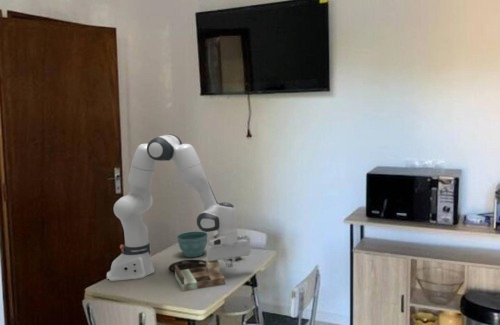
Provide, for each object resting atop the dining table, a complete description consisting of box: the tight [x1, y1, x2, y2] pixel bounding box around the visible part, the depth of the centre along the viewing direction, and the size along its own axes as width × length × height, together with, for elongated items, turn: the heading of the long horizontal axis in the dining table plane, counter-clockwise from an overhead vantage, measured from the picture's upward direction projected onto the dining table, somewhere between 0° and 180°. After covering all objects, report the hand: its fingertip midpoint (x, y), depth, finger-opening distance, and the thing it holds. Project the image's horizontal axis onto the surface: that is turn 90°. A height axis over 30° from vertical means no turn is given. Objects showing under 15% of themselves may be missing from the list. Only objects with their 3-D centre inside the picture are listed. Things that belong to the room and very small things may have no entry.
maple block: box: [205, 259, 221, 275], centre depth 230 cm, size 5×5×5 cm
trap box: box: [173, 264, 226, 292], centre depth 228 cm, size 19×19×6 cm
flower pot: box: [176, 231, 209, 258], centre depth 268 cm, size 16×16×11 cm
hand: (229, 267), depth 232 cm, fingers closed
